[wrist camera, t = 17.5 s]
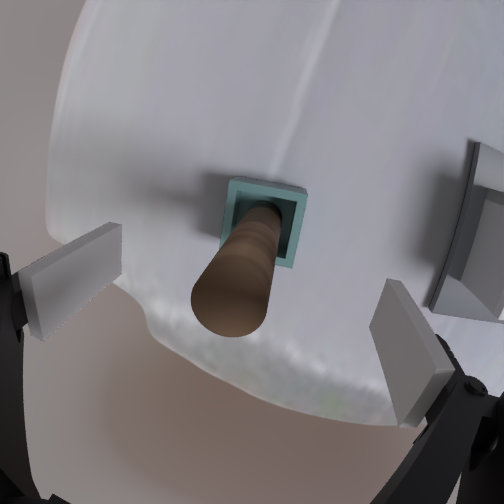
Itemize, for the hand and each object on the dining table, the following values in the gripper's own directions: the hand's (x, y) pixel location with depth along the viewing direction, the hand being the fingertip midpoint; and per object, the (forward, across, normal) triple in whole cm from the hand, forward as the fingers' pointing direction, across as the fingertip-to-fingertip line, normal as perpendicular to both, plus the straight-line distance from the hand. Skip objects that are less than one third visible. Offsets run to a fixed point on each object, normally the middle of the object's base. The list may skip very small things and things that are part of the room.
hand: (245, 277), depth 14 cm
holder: (+14, 0, 0) cm, 15 cm away
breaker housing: (+15, +26, +2) cm, 30 cm away
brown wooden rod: (+14, 0, -1) cm, 14 cm away
